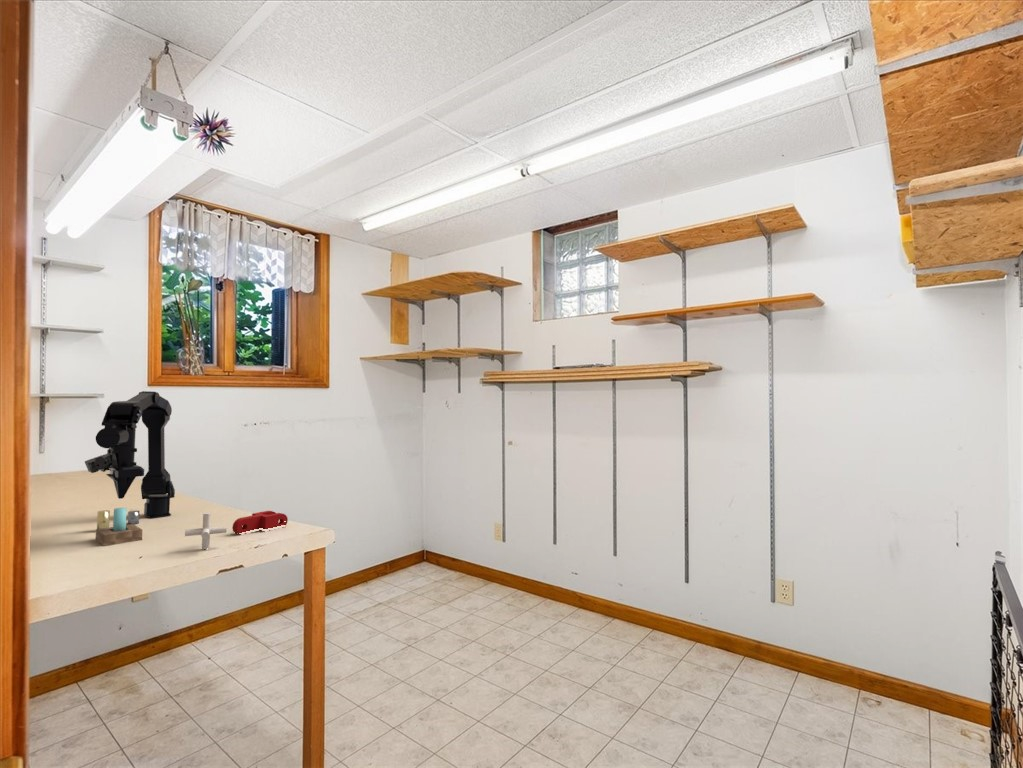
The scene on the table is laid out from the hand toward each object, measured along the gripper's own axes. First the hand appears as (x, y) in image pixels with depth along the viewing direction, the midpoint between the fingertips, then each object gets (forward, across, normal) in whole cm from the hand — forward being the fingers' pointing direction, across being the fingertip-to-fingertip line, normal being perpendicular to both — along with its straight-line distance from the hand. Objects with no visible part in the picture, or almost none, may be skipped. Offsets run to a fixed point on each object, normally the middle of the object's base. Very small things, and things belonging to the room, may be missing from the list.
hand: (120, 498), depth 155 cm
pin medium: (+12, -14, 0) cm, 19 cm away
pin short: (+12, -18, +8) cm, 24 cm away
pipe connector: (+12, +26, +14) cm, 32 cm away
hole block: (+12, 0, 0) cm, 12 cm away
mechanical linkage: (+12, +16, +33) cm, 39 cm away
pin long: (+12, 0, 0) cm, 12 cm away
